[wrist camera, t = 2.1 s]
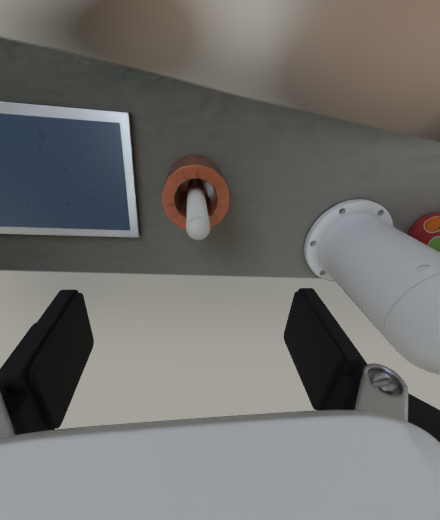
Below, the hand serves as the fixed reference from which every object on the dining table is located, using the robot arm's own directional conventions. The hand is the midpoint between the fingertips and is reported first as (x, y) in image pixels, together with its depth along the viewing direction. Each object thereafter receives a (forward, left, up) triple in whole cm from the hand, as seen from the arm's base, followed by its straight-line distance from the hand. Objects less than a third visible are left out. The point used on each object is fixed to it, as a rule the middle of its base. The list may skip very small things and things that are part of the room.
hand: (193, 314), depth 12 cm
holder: (0, -1, -23) cm, 23 cm away
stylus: (0, -1, -22) cm, 22 cm away
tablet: (+17, -1, -23) cm, 28 cm away
